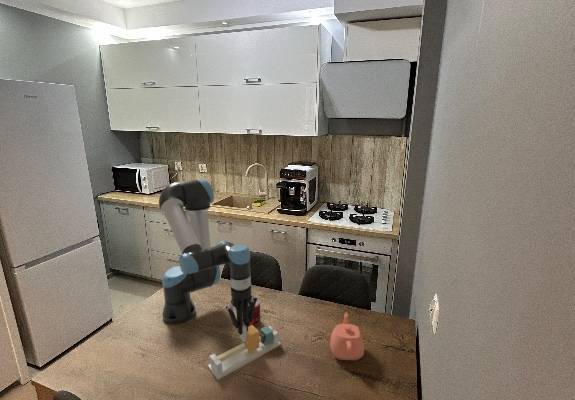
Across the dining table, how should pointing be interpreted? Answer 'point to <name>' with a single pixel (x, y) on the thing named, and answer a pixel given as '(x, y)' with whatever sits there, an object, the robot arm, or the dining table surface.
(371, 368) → the dining table surface
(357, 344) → the teapot
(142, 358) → the dining table surface
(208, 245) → the robot arm
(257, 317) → the canned food
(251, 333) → the orange slider block
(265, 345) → the linear slide rail
